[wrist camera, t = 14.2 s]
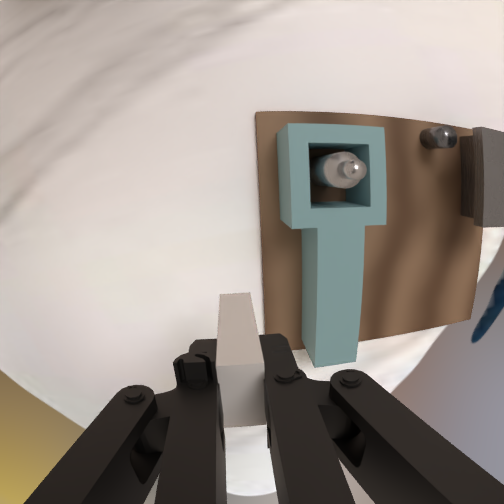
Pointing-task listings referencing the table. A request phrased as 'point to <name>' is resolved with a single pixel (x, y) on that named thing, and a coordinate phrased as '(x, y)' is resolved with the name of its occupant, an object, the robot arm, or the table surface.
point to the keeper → (476, 171)
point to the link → (331, 233)
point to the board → (378, 233)
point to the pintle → (337, 170)
